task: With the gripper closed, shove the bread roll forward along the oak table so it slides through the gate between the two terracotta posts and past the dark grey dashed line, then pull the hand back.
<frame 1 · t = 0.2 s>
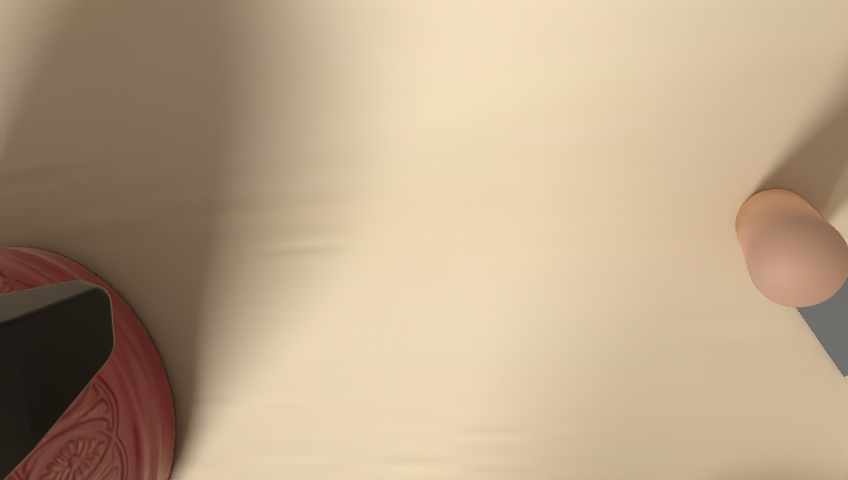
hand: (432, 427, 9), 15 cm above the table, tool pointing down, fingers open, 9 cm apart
canister: (50, 396, 31), on the table
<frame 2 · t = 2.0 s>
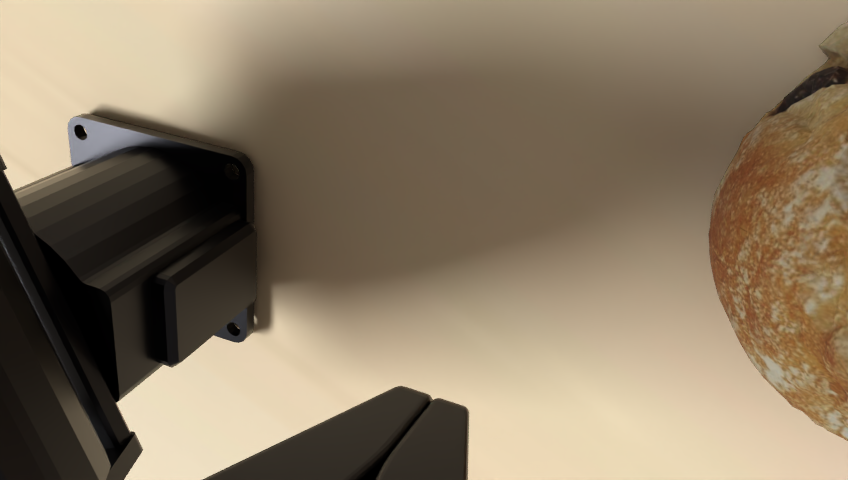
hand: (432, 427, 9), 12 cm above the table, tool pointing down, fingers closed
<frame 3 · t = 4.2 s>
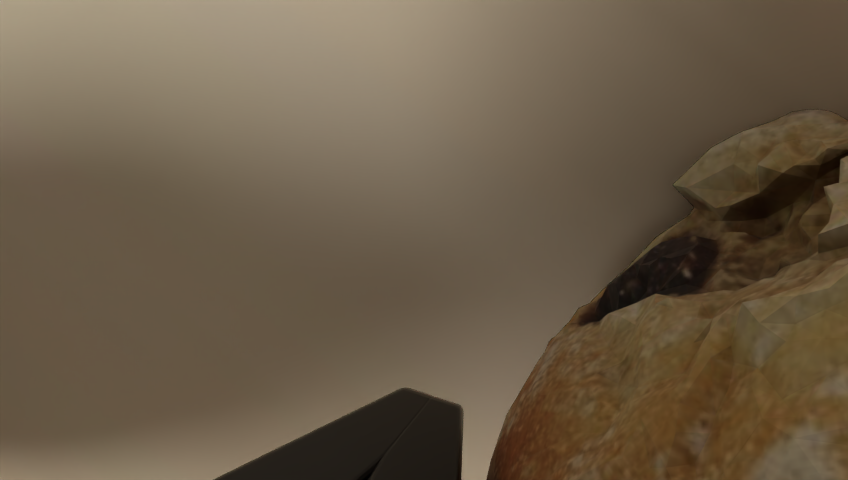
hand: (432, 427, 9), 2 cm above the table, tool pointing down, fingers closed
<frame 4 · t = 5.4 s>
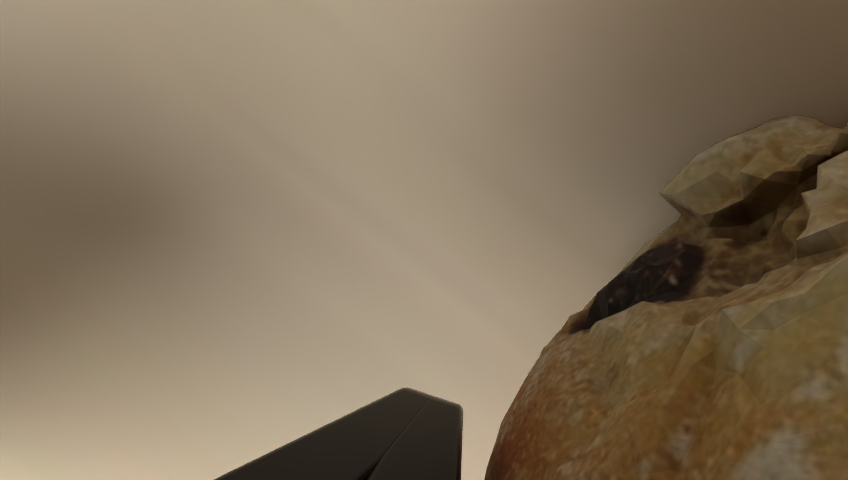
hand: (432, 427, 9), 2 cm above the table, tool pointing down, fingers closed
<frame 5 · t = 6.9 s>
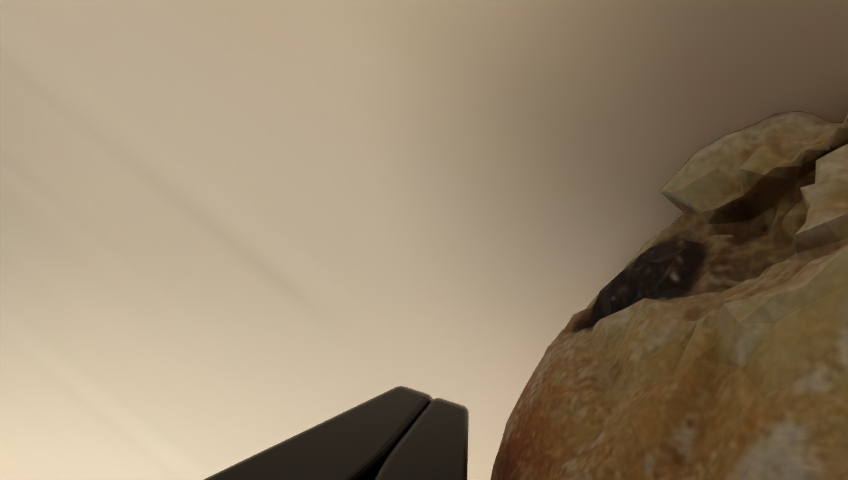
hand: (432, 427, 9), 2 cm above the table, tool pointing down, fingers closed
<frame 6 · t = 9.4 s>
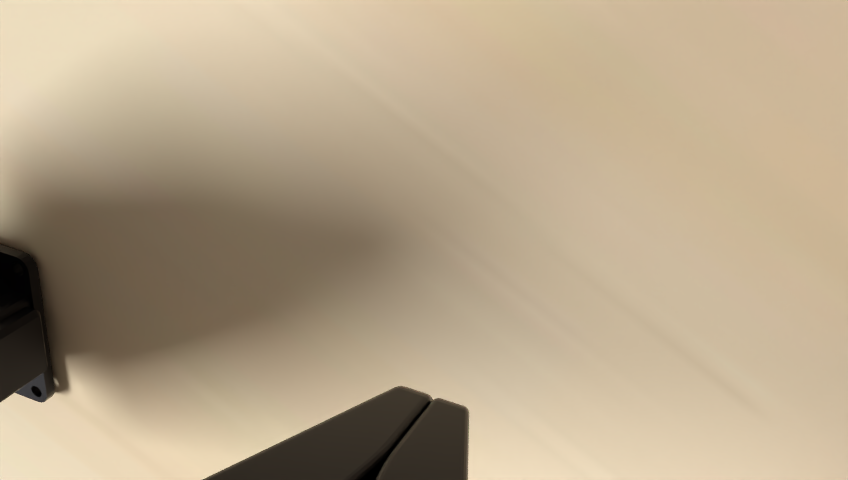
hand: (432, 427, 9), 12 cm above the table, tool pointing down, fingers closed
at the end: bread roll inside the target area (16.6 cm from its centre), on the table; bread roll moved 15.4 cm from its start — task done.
